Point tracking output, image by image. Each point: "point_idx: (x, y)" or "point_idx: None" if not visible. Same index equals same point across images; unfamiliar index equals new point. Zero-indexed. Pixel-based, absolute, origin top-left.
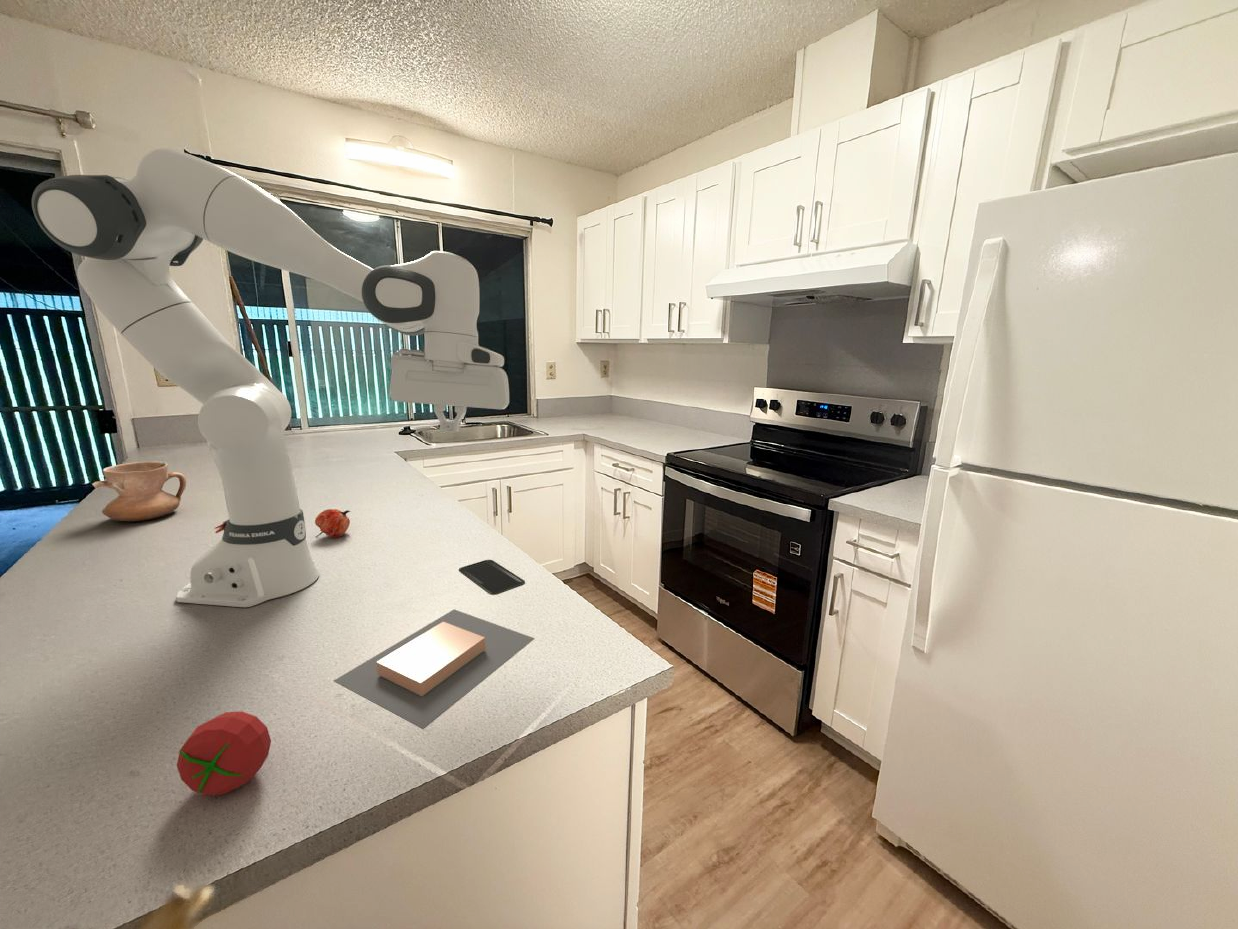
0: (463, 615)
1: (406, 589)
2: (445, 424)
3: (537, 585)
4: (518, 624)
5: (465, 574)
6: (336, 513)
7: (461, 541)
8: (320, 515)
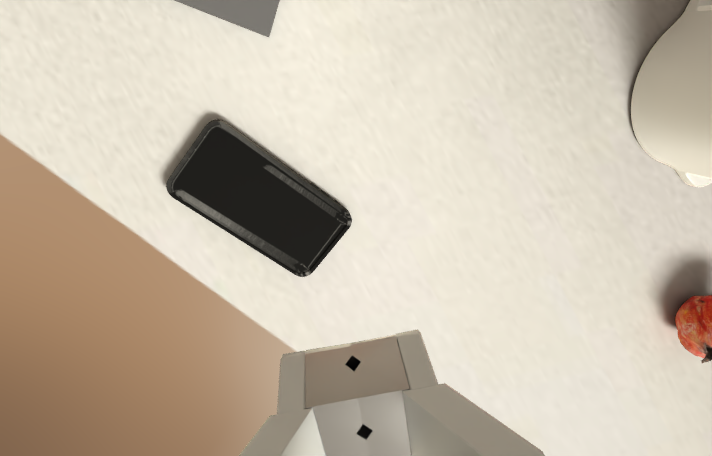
0: (232, 13)
1: (425, 118)
2: (380, 371)
3: (139, 194)
4: (93, 9)
5: (323, 197)
6: None
7: None
8: None
